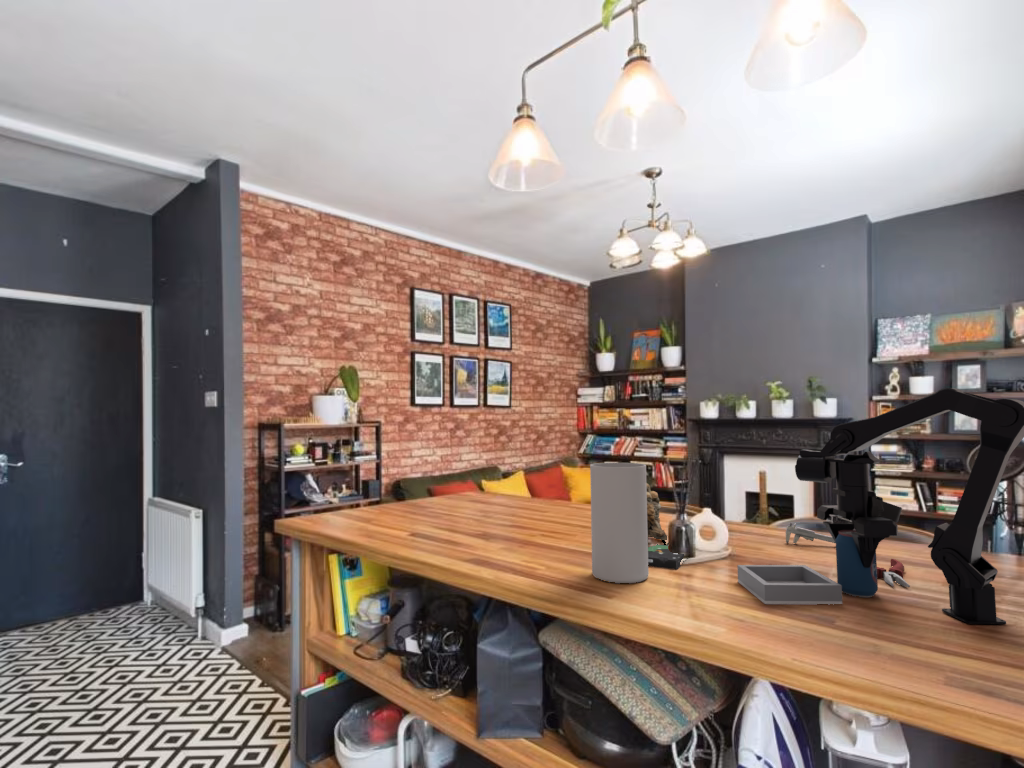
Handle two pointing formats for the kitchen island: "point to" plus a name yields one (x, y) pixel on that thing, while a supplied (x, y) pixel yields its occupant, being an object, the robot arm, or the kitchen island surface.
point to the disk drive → (663, 557)
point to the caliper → (805, 534)
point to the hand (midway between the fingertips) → (856, 562)
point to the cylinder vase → (619, 522)
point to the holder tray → (789, 584)
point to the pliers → (893, 573)
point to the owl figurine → (654, 515)
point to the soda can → (854, 568)
